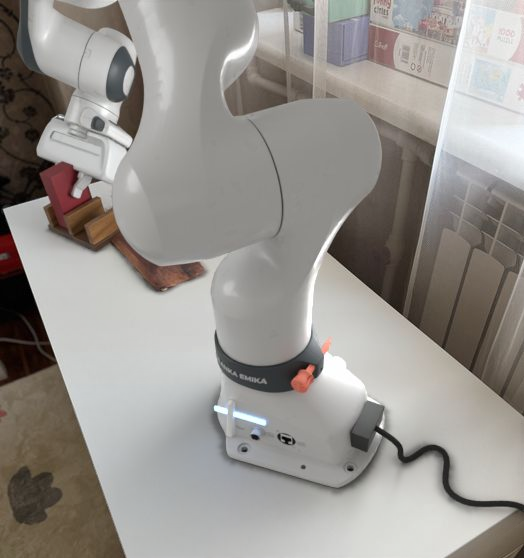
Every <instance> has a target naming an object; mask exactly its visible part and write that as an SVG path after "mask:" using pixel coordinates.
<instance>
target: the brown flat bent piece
mask: <svg viewBox="0 0 524 558" xmlns="http://www.w3.org/2000/svg"><path fill="white" fill-rule="evenodd" d="M110 243H112V244H113V245H114V246H115V247H116V248H117V249H118V250H119V251H120V253H122V255H124V257H125V258H126V259H127V260H128V261H129V262H130V263H131V264H132V266H133V267H134V268H135V269H136V270H137V272H138V273H140V275H141V276H142V277H143V278H144V280H145V281H147V282H148V284H149V285H151V287H153V289H155V290H156V291H158V292H160V293H162V292H166V291H169V290H170V289H173V288H174V287H176V286H178V285H179V284H183V283H186V282H189V281H192V280H194V279H196V278H198V277H200V276H201V275H202V274H203V273H204V272H205V268H204V266H203V265H202V264H201V262H200V261H199V262H192V263H186V264H177V265H169V266H158V265H156V264H154V263H152V262H150V261H148V260H147V259H145V258H144V257H142V256H141V255H140V254H138V253H137V252H136V251H135V250H134V249H133V248H132V247H131V246H130V245H129V243H128V242H127V241H126V239H125V238H124V236H123V235H122V233H121V232H120V233H119V234H117V235H116V236H115V237H114V238H113V239H112V240H111V242H110Z"/></svg>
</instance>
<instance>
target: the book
mask: <svg viewBox="0 0 524 558" xmlns="http://www.w3.org/2000/svg"><path fill="white" fill-rule="evenodd" d="M78 174H79V171H76V170H74V169H73V165H72V164H69V163H66V162H64V161H62V162H60V163H58V164H56V165H55V164H54V165H52V166H51V167H49V168H47V169H44V170H43V171H41V172H39V177H40V179H41V182H42V184H43V186H44V189H45V192H46V195H47V197H48V200H49V203H51V205H52V208H53V210H54V213H55V216H56V218H57V221H58V223H59V225H60V226H63V227H65V228H67V226H66V223H65V220H64V217H63V216H64V215H65V214H67V213H69V212H70V211H72V210H74V209H75V208H77V207H79V206H80V205H82V204H84V203H86V202H87V201H89V200H91V199H92V198H93V196H92V193H91V189H90V186H89V185H88V186H87V187H86V188H85V189H84V190H83V191H82V194H81V197H80V198H76V197H73V196H71V195H69V193H68V192H69V190H70V186H71V185H72V186H74V185H75V183H76V182H77V181H78V179H79V178H78ZM67 229H68V228H67Z"/></svg>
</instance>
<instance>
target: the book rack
mask: <svg viewBox="0 0 524 558" xmlns="http://www.w3.org/2000/svg"><path fill="white" fill-rule="evenodd" d="M42 208H43V211H44V213H45V217H46V218H47V221H48V224H47V228H48V230H49V231H51V232H52V233H56V234H57V235H59V236H61V237H63V238H66V239H67V240H70V241H72V242H74V243H76V244H78V245H80V246H82V247H85V248H86V249H88V250H91V251H93V252H96V253H97V252H98V251H100V250H101V249H103V248H104V247H107V245H109V244H111V243H112V242H111V240H112V239H113V238H114V237H115V236H116V235H117V234H119V233H120V232H121V231H120V229H119V227H118V225H117V223H116V220H115V216H114V212H113V207H111V208H109V209H108V210H106V211H105V208H104V205H103V201H102V198H101V197H100V196H98V195H96V196H94V197H92V199H91V200H89V201H87V202H86V203H84V204H82V205H80V206H79V207H77V208H75V209H74V210H72V211H70V212H69V213H67V214H65V215H64V216H63V217H64V220H65V223H66V226H67V228H68V229H67V228H65V227H63V226H60V225H59V223H58V221H57V218H56V216H55V213H54V210H53V208H52V205H51V203H50V202H49V203H48V204H46V205H44V206H43V207H42Z"/></svg>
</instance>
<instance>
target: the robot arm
mask: <svg viewBox="0 0 524 558" xmlns="http://www.w3.org/2000/svg"><path fill="white" fill-rule="evenodd" d="M56 1H57V2H62V3H65V4H67V5H72V6H75V7H78V8H83V9H88V10H89V9H90V10H94V9H103V8H105V7H109V6H111V5H113V4H115V3H116V2H118V4H119V7H120V10H121V12H122V14H123V15H122V16H123V17H124V20H125V23H126V27H127V28H128V31H129V34H130V37H131V39H130V37H128V36H127V35H126V34H124V33H122V32H121V31H119V30H117V29H115V28H112V27H102V28H101V27H100V28H99V30H98V31H96V30H94V29H93V28H90V27H88V26H86V25H84V24H82V23H80V22H78V21H76V20H73V19H71V18H70V17H67V16H66V15H64V14H62V13H61V12H59V11H58V10H56V9H55V8H54V3H55V0H19V22H18V28H17V36H16V50H17V53H18V54H19V56H20V58H21V60H22V61H23V63H24V66H25V67H27V69H28V70H30V71H33V72H35V73H38V74H41V75H43V76H46V77H50V78H52V79H55V80H56V81H59V82H61V83H63V84H66V85H68V86H70V87H72V88H75V89H74V91H73V92H72V93H71V94H72V95H71V98H70V100H69V104H68V107H67V109H66V112H65V114H62V113H58V114H57V115H56V116H54V117H52V118H51V119H50V121H49V122H48V123H47V125H46V126H45V128H44V130H43V132H42V134H41V136H40V139H39V142H38V143H37V146H36V155H37V156H38V158H41V159H43V160H45V161H47V162H50V163H53V164H54V165H56V164H58V163H60V162H62V161H64V162H66V163H69V164H72V165H73V169H74V170H76V171H79V174H78V178H79V179H78V181H77V182H76V183H75V185H74V186H72V185H71V186H70V190H69V192H68V193H69V195H71V196H73V197H76V198H80V197H81V194H82V191H83V190H84V189H85V188H86V187H87V186H89V185H90V184H91V183H92V179H96V180H99V181H101V182H104V183H106V184H109V185H110V186H112V187H111V205H112V207H113V212H114V216H115V220H116V223H117V225H118V227H119V229H120V231H121V233H122V235H123V236H124V238H125V239H126V241H127V242H128V243H129V245H130V246H131V247H132V248H133V249H134V250H135V251H136V252H137V253H138V254H140V255H141V256H142V257H144V258H145V259H147V260H148V261H150V262H152V263H154V264H156V265H158V266H169V265H177V264H186V263H192V262H199V263H200V262H205V261H211V260H213V259H216V258H219V257H221V256H223V255H226V256H224V258H222V260H221V261H220V263H219V264H218V265H217V267H216V269H215V271H214V273H213V276H212V280H211V285H210V300H211V306H212V312H213V318H214V324H215V330H214V337H213V339H214V348H215V358H216V361H217V364H218V366H219V369H220V373H221V377H220V379H221V380H220V381H221V383H220V393H219V397H218V400H217V405H214V406H213V409H214V411H215V412H216V415H217V420H218V423H219V424H220V427H221V429H222V431H223V432H224V436H225V450H226V454H227V456H228V457H229V458H231V459H233V460H237V461H240V462H244V463H247V464H250V465H254V466H257V467H261V468H264V469H267V470H271V471H274V472H279V473H282V474H285V475H289V476H292V477H295V478H299V479H302V480H306V481H310V482H313V483H317V484H320V485H323V486H327V487H331V488H335V489H339V488H343V487H344V486H346V485H348V484H350V483H351V482H353V481H354V480H356V479H357V478H358V477H359V476H360V475H361V474H362V473H363V472H364V470H366V469H367V467H368V466H369V464H370V463H371V461H372V459H373V458H374V456H375V454H376V452H377V450H378V448H379V446H380V444H381V441H382V440H383V438H384V439H386V440H388V441H389V442H390V443H392V444H393V446H394V447H395V448H396V449H397V450H396V451H397V458H398V460H399V461H400V462H402V463H411V462H414V461H415V460H417V459H418V458H420V457H421V456H422V455H424V454H426V453H427V452H430V451H435V452H438V453H439V454H440V455H441V456H442V459H443V467H442V475H441V476H442V478H441V479H442V487H443V489H444V491H445V493H446V494H447V495H448V496H449V497H450V498H451V499H453V500H454V501H456V502H458V503H460V504H462V505H465V506H467V507H475V508H513V509H517V510H519V511H521V512H522V513H524V504H523V503H521V502H517V501H512V500H474V499H468V498H466V497H462V496H461V495H459V494H457V493H456V492H455V491H454V490H453V489H452V487H451V485H450V478H449V477H450V467H451V461H450V460H451V459H450V455H449V453H448V452H447V450H446V449H444V447H442V446H440V445H437V444H427V445H424V446H422V447H421V448H419V449H418V450H416V451H415V452H414V453H412V454H411V455H409V456H405V454H404V453H405V451H404V446H403V444H402V443H401V442H400V441H399V439H397V438H396V437H395V436H394V435H392V434H391V433H390V432H388V431H387V430H385V425H386V423H385V422H386V421H385V420H386V418H385V408H386V407H385V405H383V404H380V403H379V402H378V401H376V400H375V399H373V398H371V397H370V396H369V395H368V393H367V389H366V386H365V385H364V383H363V382H362V381H361V380H360V379H359V378H358V377H357V376H356V375H354V374H353V373H352V372H351V371H350V370H348V369H347V362H346V361H345V360H344V359H343V358H342V357H340V356H337V355H336V356H332V355H331V354H330V353H329V352H328V351H329V350H330V347H331V345H332V342H331V340H332V337H330V336H329V337H328V338H327V339H326V341H325V342H324V344H322V341H321V340H320V338H319V335H318V333H317V330H316V328H315V326H314V324H313V322H312V316H313V302H314V291H315V284H316V280H317V276H318V274H319V273H318V272H319V270H320V268H321V265H322V263H323V261H324V258H325V256H326V254H327V252H328V250H329V248H330V247H331V244H332V242H333V240H334V239H335V237H336V235H337V233H338V232H339V230H340V229H341V227H342V226H343V224H344V222H345V221H346V220H347V219H348V217H349V216H350V214H351V213H352V212H353V211H354V210H355V208H357V206H358V205H359V204H360V203H361V202H362V201H363V200H365V198H366V197H367V196H368V195H369V194H370V193H371V192H372V191H373V190H374V188H375V186H377V185H376V184H377V183H378V179H379V178H380V177H379V176H380V173H381V170H382V169H381V168H382V161H383V149H382V142H381V138H380V134H379V131H378V129H377V126H376V124H375V122H374V120H373V119H372V117H371V116H370V114H369V113H368V112H367V110H365V108H363V106H362V105H360V104H359V103H358V102H357V101H355V100H353V99H351V98H347V97H345V98H344V97H321V98H319V97H318V98H316V97H315V98H300V99H298V100H294V101H291V102H287V103H286V102H285V103H283V104H279V105H276V106H273V107H268V108H265V109H260V110H257V111H253V112H250V113H246V114H243V115H233V114H232V112H231V110H230V109H229V106H228V104H227V101H226V96H225V92H226V90H227V89H229V87H230V86H231V85H232V84H234V82H236V80H238V78H240V76H241V75H242V74H243V73H244V72H245V70H247V68H248V66H249V65H250V64H251V62H252V60H253V59H254V57H255V53H256V51H257V49H258V43H259V40H260V39H259V37H260V23H259V16H258V12H257V10H256V7H255V4H254V1H253V0H56ZM137 59H138V64H139V66H140V71H141V77H142V81H143V107H142V113H141V117H140V123H139V126H138V129H137V132H136V134H135V137H134V139H133V137H132V136H131V135H130V134H129V133H127V132H126V131H125V130H124V129H123V128H121V126H120V125H119V124H118V121H119V119H120V112H121V107H122V104H123V102H124V101H126V100H127V99H128V98H129V96H130V94H131V92H132V89H133V86H134V83H135V81H136V80H135V79H136V76H137V68H136V63H137ZM127 149H128V150H127ZM112 207H111V208H112ZM348 469H349V470H348ZM350 469H351V470H352V471H350Z"/></svg>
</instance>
